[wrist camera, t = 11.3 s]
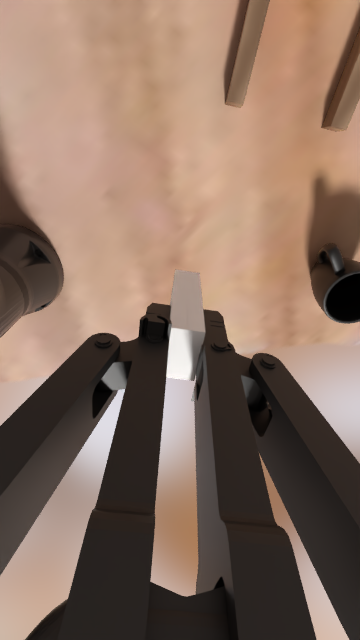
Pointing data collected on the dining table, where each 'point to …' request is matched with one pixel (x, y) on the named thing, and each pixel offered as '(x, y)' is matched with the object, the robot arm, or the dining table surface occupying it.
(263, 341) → the dining table surface
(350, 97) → the channel
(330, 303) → the mug
